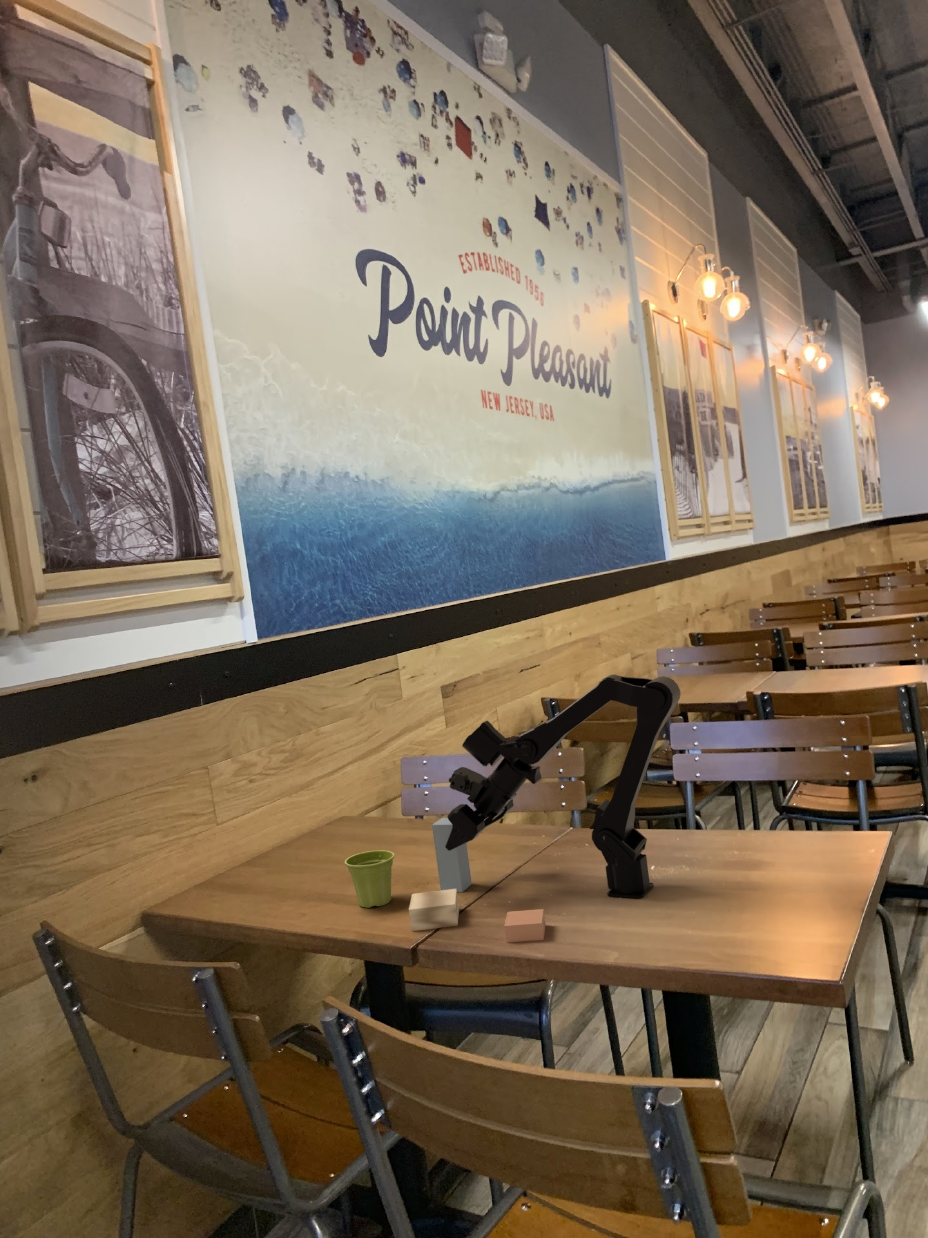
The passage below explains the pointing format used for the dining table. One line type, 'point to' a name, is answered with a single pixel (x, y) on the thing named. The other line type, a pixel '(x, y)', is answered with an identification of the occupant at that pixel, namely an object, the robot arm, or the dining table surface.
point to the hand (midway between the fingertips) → (457, 841)
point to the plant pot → (371, 876)
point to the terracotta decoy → (525, 925)
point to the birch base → (434, 909)
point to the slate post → (450, 859)
